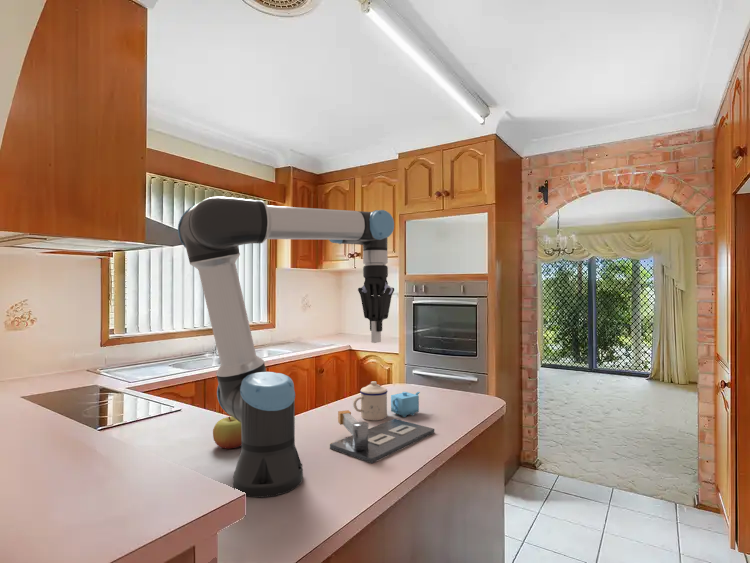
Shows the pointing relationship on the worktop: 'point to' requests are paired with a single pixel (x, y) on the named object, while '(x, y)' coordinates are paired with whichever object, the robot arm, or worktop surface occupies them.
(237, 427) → the apple
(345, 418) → the grey bar
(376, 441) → the plate
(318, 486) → the worktop surface
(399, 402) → the teapot
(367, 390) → the teacup with lid
